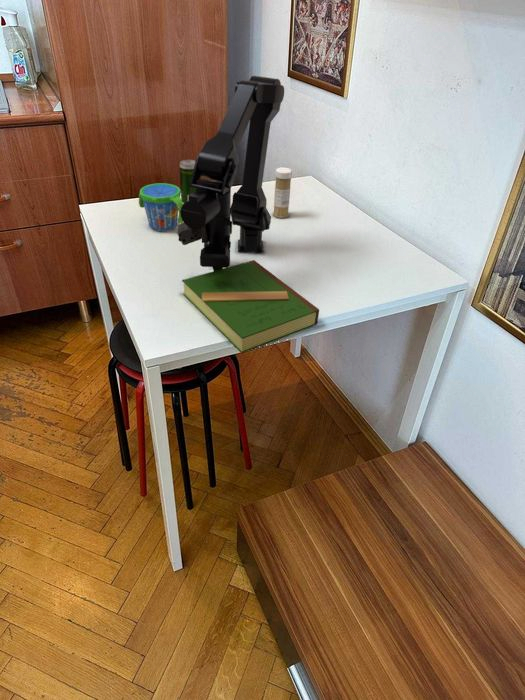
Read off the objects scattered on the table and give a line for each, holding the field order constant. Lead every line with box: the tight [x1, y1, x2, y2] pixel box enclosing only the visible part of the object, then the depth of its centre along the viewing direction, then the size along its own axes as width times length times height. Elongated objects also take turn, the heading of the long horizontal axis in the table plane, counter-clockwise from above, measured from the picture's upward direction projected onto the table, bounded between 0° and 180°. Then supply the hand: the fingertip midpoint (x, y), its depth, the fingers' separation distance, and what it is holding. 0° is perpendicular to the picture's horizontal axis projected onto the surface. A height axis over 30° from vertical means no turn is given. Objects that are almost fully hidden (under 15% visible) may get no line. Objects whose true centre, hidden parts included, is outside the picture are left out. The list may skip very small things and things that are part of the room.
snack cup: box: [138, 182, 183, 232], centre depth 136 cm, size 16×10×10 cm
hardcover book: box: [181, 259, 320, 354], centre depth 108 cm, size 25×19×4 cm
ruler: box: [202, 291, 289, 302], centre depth 105 cm, size 3×18×1 cm, turn 96°
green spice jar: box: [179, 159, 196, 204], centre depth 149 cm, size 5×5×12 cm
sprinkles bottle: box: [272, 166, 293, 219], centre depth 144 cm, size 5×5×13 cm
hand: (217, 274), depth 117 cm, fingers closed
